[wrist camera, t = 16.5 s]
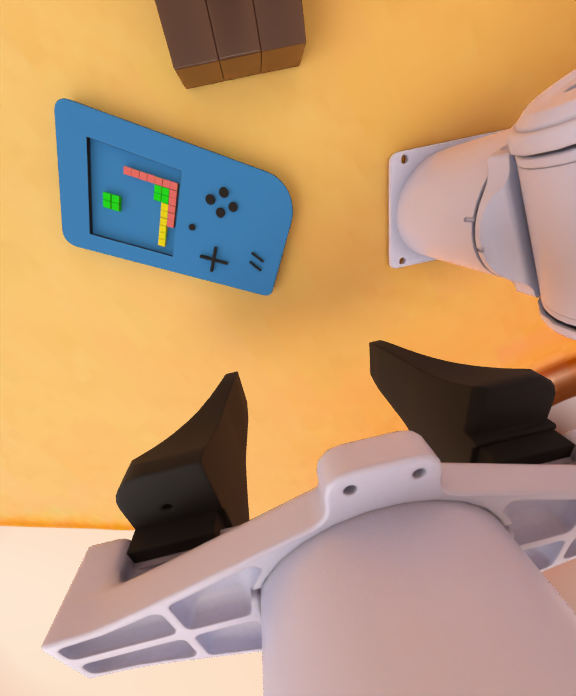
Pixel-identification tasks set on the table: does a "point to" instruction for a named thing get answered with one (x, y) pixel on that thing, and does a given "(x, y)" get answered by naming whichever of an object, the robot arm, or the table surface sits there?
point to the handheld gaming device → (168, 201)
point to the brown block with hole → (231, 37)
